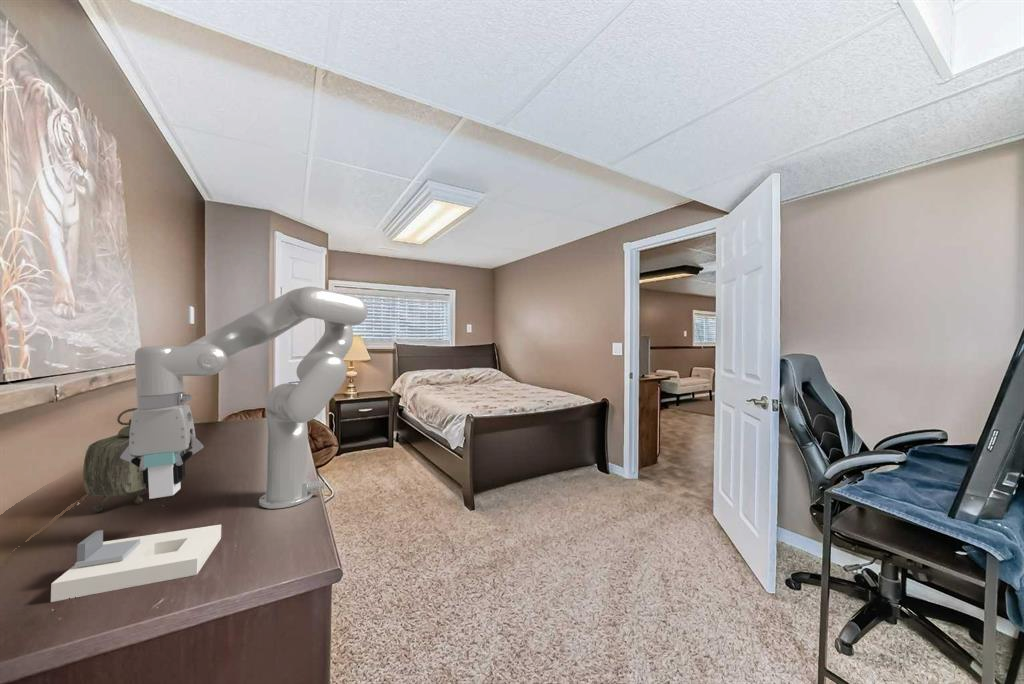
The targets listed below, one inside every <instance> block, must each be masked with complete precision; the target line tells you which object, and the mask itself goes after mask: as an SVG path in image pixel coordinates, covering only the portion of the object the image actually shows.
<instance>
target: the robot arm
mask: <svg viewBox="0 0 1024 684" xmlns="http://www.w3.org/2000/svg"><path fill="white" fill-rule="evenodd" d="M368 312H369V310H368V306H367V305H366V303H365V302H364V300H362V299H361V298H359V297H357V296H354V295H350V294H346V293H342V292H339V291H334V290H331V289H325V288H322V287H317V286H304V287H299V288H295V289H292V290H290V291H288V292H285V293H284V294H282V295H280V296H278V297H276V298H275V299H273V300H271V301H269V302H267V303H265V304H264V305H261V306H259V307H257V308H256V309H254V310H252V311H250V312H248V313H246V314H244V315H241V316H240V317H238V318H236V319H235V320H233V321H231V322H229V323H227V324H225V325H224V326H221V327H219V328H216V329H215V330H214V331H212V332H209V333H207V334H206V335H204V336H201V337H200V338H198V339H196V340H194V341H192V342H191V343H188V344H186V345H185V346H176V345H150V346H149V345H148V346H141V347H138V348H137V349H136V350H135V353H134V366H135V369H134V371H135V386H136V387H135V390H136V391H135V392H136V405H137V407H136V408H137V410H135V411H132V416H131V419H132V420H131V426H130V436H129V446H128V447H127V448H126V449H125V451H124V452H123V453H122V455H121V456H120V458H121V459H123V460H126V461H129V462H132V463H133V464H134V465H136V466H138V467H139V469H140V470H143V483H146V488H147V489H149V482H148V467H146V468H144V456H145V455H152V454H161V453H169V452H175V466H174V467H173V478H174V484H178V483H179V482H180V483H181V482H182V481H183V479H185V477H186V462H187V461H188V460H189V459H190V458H191V457H193V455H195V454H196V453H198V452H199V451H201V450H202V449H203V448H204V444H202V442H201V441H200V440H199V439H198V438H197V437H196V431H195V425H194V424H195V423H194V419H193V414H192V410H191V407H190V405H189V404H186V402H188V401H192V399H193V397H192V394H187V393H185V392H186V391H184V377H188V376H189V377H210V376H211V377H212V376H214V375H216V374H219V373H220V372H222V371H223V370H224V369H225V368H226V366H227V364H228V358H230V357H232V356H234V355H236V354H237V353H240V352H242V351H244V350H246V349H248V348H251V347H255V346H259V345H263V344H265V343H267V342H271V341H272V340H274V339H276V338H278V337H280V335H282V334H284V333H285V332H287V331H289V330H291V329H292V328H294V327H295V326H298V325H299V324H300V323H302V322H303V321H306V320H308V319H318V320H323V322H324V332H323V334H322V336H321V337H320V339H319V340H318V342H317V343H316V344H315V345H314V346H313V347H312V348H311V350H309V352H307V354H306V355H305V356H304V357H303V358H301V360H300V361H299V364H298V365H297V367H296V376H297V378H298V380H299V381H298V383H297V384H296V383H289V382H287V383H282V384H278V385H276V386H275V387H273V388H272V389H271V390H270V391H269V392H268V394H267V396H266V399H265V404H264V405H265V406H264V409H265V417H266V419H265V420H266V429H267V431H266V433H267V435H266V436H267V441H266V443H267V444H266V448H267V449H266V481H265V482H266V483H265V484H266V486H265V487H266V490H265V491H266V492H265V494H263V495H261V496H260V498H259V500H258V505H259V506H260V507H262V508H264V509H272V510H273V509H274V510H275V509H284V508H289V507H294V506H298V505H300V504H303V503H305V502H307V501H309V500H310V499H312V497H313V495H314V491H322V490H325V483H326V482H325V481H324V482H321V480H315V481H311V480H310V477H309V476H308V441H309V430H308V429H309V427H308V422H310V421H312V420H313V419H315V418H316V417H318V416H319V415H320V413H321V412H322V411H323V410H324V408H325V407H326V406H327V405H328V403H329V402H330V401H331V399H332V398H333V397H334V396H335V394H336V393H337V392H338V390H339V389H340V388H341V386H342V385H343V383H344V382H345V379H346V377H347V373H348V368H347V367H348V366H347V364H346V362H345V361H344V358H345V357H346V355H347V354H348V353H349V351H350V350H351V348H352V345H353V342H354V330H353V326H359V325H361V324H363V322H365V320H366V319H367V317H368V315H369V313H368ZM190 447H192V448H190ZM189 448H190V449H189ZM188 449H189V450H188ZM186 450H188V451H187V452H186ZM141 456H142V457H141ZM319 487H320V489H319Z"/></svg>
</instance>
